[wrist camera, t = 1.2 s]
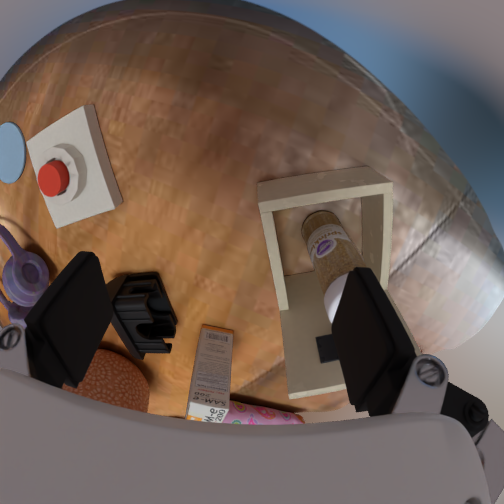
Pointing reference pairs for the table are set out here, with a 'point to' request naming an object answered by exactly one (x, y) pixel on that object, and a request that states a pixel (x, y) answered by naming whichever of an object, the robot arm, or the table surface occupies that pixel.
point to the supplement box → (211, 376)
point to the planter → (114, 382)
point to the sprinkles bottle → (330, 256)
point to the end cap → (142, 313)
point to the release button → (53, 178)
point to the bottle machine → (306, 284)
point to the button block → (77, 166)
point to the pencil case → (259, 415)
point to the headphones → (22, 279)
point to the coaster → (11, 152)
